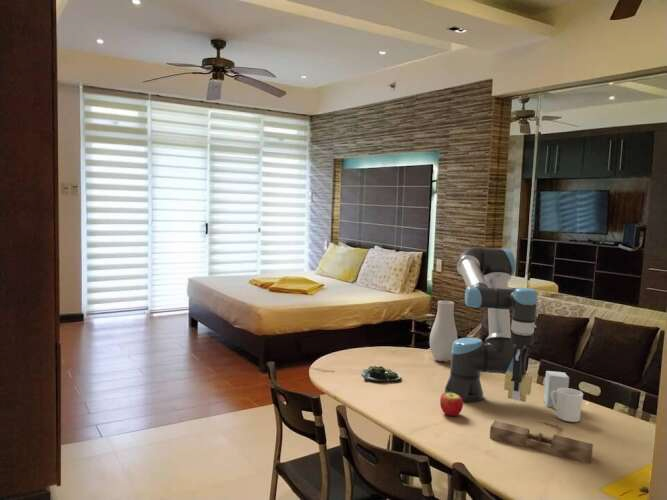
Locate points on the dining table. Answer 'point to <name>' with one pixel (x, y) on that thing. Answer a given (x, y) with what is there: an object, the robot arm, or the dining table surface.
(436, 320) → the vase
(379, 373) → the salad plate
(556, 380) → the supplement box
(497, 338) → the robot arm
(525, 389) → the beige block
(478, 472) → the dining table surface
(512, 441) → the rail
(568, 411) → the mug
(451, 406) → the apple
